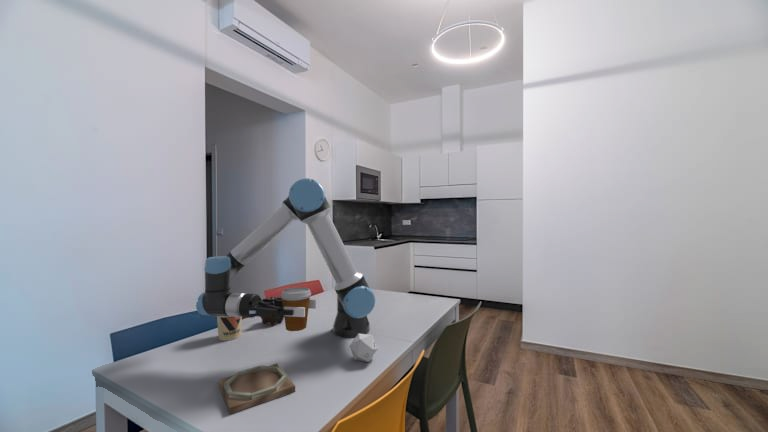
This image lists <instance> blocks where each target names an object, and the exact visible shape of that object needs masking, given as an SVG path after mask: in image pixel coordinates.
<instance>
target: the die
mask: <svg viewBox="0 0 768 432" xmlns="http://www.w3.org/2000/svg"><path fill="white" fill-rule="evenodd" d="M349 349H350V351H351V354H352V357H353V359H354V361H360V362H366V363H370V361H371V360H372V359H373V357H374V355H375V354H376V352H377V351H378V347H377V344H376V341H375V339H374V336H373V335H372V334H367V333H366V334H360V333H358V335H357V336H355V337H354V338H353V340H352V341H351V342H350V344H349Z"/></svg>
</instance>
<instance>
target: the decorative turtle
mask: <svg viewBox="0 0 768 432" xmlns="http://www.w3.org/2000/svg"><path fill="white" fill-rule="evenodd" d="M260 319H261V322H262V324H263V325H267V324H270V326H275V325H276V323H279V324H281V323H283V321H284V319H285V318H284V315H283V319H279V316H278V318H276V319H275V318H267V317H260Z"/></svg>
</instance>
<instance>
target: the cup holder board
mask: <svg viewBox="0 0 768 432" xmlns="http://www.w3.org/2000/svg"><path fill="white" fill-rule="evenodd" d="M218 386H219V390H220V392H221V394H222V397H223V399H224V402H225V405H226V408H227V410H228V414H229V415H232V414H235V413H237V412H241V411H243V410H247V409H249V408H251V407H255V406H257V405H260V404H263V403H266V402H269V401H273V400H275V399H278V398H280V397H283V396H285V395H286V396H287V395H289V394H293V393H294V392H296V385H295V383H294V382H293V381H292V380H291V379H290V378H289V376H288V374H287V373H286V372H285V371H284V369H283V368H282V367H281V366H279V364H278V363H273V364H270V365H257V366H254V367H251V368H246V369H242V370H239V371H237V372H236V373H235V374H234V375H230V376H228V377H224V378H220V379H218Z"/></svg>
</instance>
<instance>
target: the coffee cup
mask: <svg viewBox="0 0 768 432" xmlns="http://www.w3.org/2000/svg"><path fill="white" fill-rule="evenodd" d="M242 319H243V317H238V318H235V317H233V316H216V321H217V335H218V340H219V341H223V342H226V341H227V342H228V341H229V342H230V341H234V340H236V339H238V338H240V337H241V332H242V321H243V320H242Z"/></svg>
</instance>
